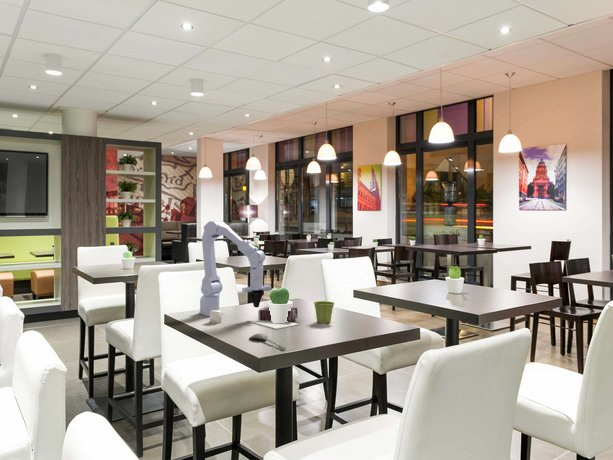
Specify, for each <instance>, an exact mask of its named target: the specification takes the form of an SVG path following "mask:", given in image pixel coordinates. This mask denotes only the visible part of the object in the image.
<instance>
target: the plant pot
mask: <svg viewBox="0 0 613 460" xmlns="http://www.w3.org/2000/svg"><path fill="white" fill-rule="evenodd" d="M313 304H314V308H315V316H316V317H315V318H316V322H317V323H319V324H327V323H328V324H330V323H331V322H332V315H333V309H334V305H335V302H333V301H325V300H319V301H314V302H313Z"/></svg>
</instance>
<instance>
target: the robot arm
mask: <svg viewBox="0 0 613 460" xmlns="http://www.w3.org/2000/svg"><path fill="white" fill-rule="evenodd" d="M220 236H224V237H226V238H228V239H229V240H230V241H231V242H232V243H234V244H235V245H236V246H237V249H238V251H240V253H242V254H243V255H244V256H245V257H246V258H247V260H248V262H249V264H250V267H249V268H250V270H249V271H250V281H249V283H250V284H249V285H250V286H247V287H242V289H241V292H242V293H244V294H245V293H248V294H249V296H250V298H251V301H252V304H253V307H254V308H260V303H261V300H262V297H263V296H264V294H265V291H270V290H271V285H269V284H268V285H264V262H265V260H266V253H265V252H264V251H263V250H261V249H258V247H256V246H255V245H253V244H252V243H251V240H249V239H248V240H247V239H242V238H241V237H240V236H239V234H237V233H236V232H235V231H234V230H232V228H231V227H230V226H229V224H226V222H224V221H208V222H207V223H206V224H205V225H204V226H203V233H202V235H201V244H202V247H201V248H202V257H203V265H204V266H203V267H204V277H203V278H202V280H201V286H200V291H201V293H202V295H201V297H200V300H199V311H198V314H199V315H203V316H206V317H210V311H211V310H220V295H221V292H222V290H223V284H222V282H221V277H220V276H219V275H218V273H217V264H216V263H217V261H216V251H215V241H216V240H217V239H218V238H219V237H220ZM222 315H224V313H223V312H222Z"/></svg>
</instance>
